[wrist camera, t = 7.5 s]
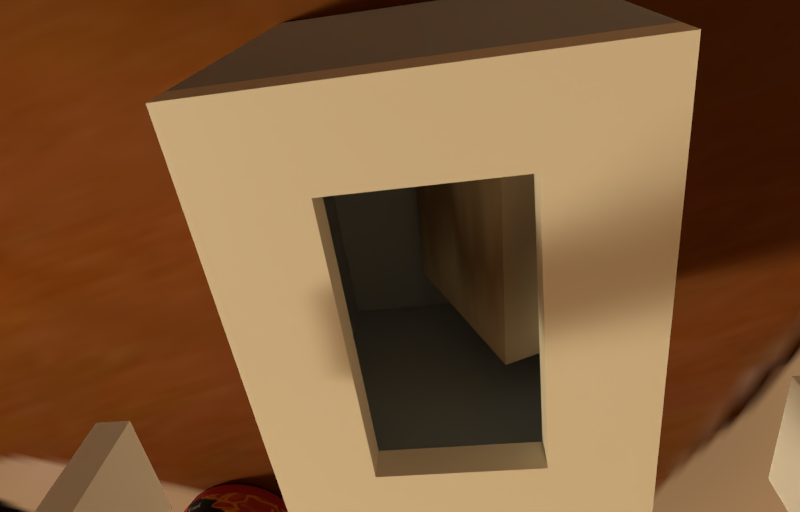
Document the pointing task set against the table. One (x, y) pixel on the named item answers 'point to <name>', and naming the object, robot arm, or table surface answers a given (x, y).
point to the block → (485, 257)
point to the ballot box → (402, 249)
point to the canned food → (237, 500)
